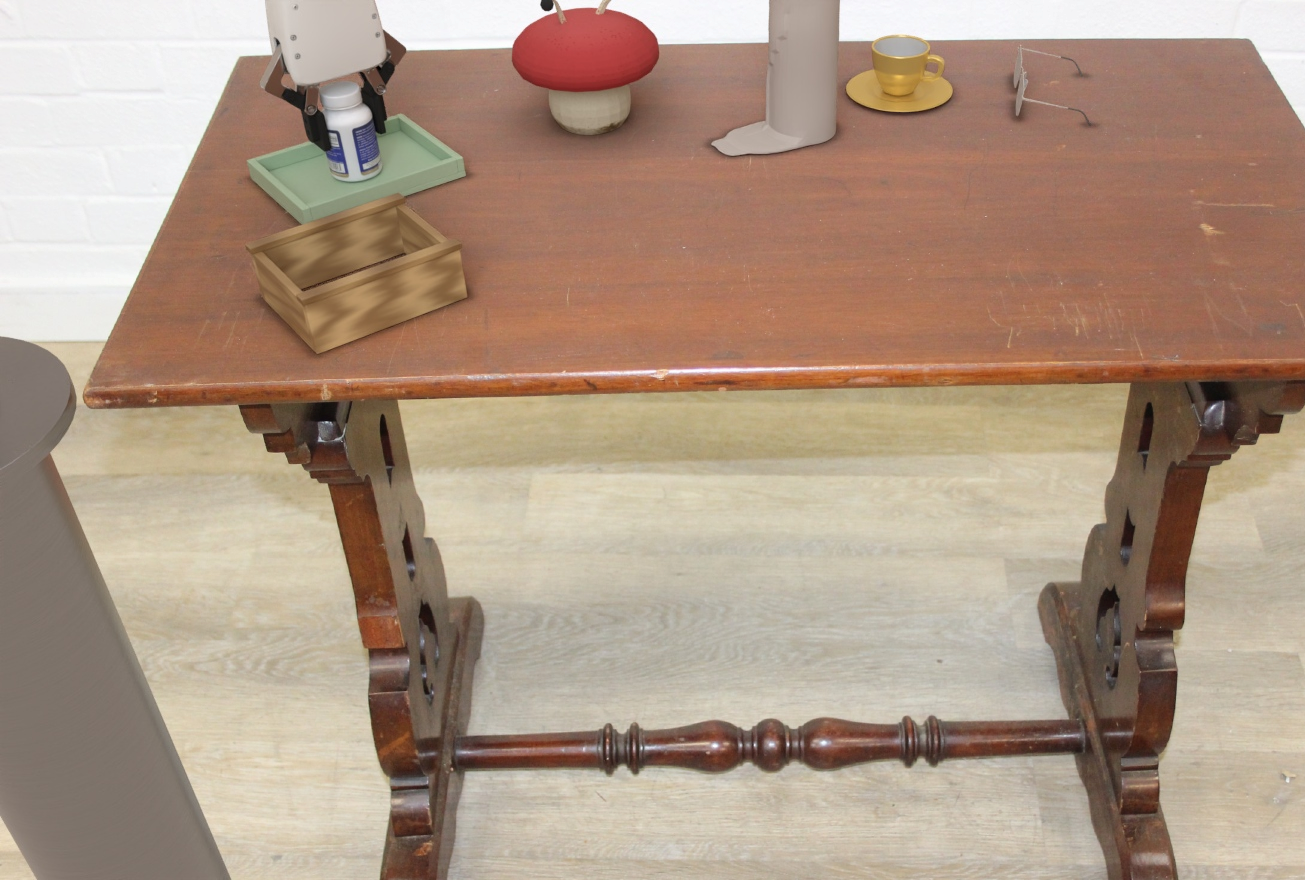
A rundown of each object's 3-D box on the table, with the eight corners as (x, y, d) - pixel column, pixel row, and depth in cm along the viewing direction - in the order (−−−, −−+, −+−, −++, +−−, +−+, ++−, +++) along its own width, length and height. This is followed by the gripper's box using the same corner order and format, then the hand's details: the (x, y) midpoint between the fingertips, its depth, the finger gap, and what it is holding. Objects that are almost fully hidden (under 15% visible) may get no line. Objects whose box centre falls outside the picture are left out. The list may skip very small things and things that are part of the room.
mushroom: (560, 166, 145) (544, 24, 136) (495, 112, 156) (477, -24, 146) (690, 128, 152) (684, -10, 142) (620, 79, 162) (610, -53, 152)
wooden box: (315, 356, 119) (301, 300, 115) (259, 298, 126) (244, 243, 123) (471, 297, 126) (462, 242, 122) (409, 245, 133) (398, 192, 130)
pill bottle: (381, 156, 146) (365, 74, 140) (384, 179, 142) (368, 95, 136) (329, 163, 145) (311, 81, 139) (331, 186, 141) (312, 102, 135)
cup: (833, 107, 156) (835, 60, 152) (861, 65, 164) (863, 20, 161) (939, 121, 153) (943, 73, 149) (962, 77, 161) (966, 31, 158)
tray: (306, 229, 136) (301, 209, 135) (251, 178, 144) (246, 159, 143) (466, 175, 144) (463, 157, 143) (405, 130, 152) (401, 112, 151)
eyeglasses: (1012, 71, 162) (1019, 38, 160) (1081, 79, 162) (1089, 46, 159) (1016, 124, 152) (1023, 89, 149) (1090, 132, 151) (1098, 97, 149)
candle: (702, 137, 150) (695, -54, 137) (816, 111, 155) (820, -75, 142) (731, 164, 145) (727, -31, 132) (847, 137, 150) (855, -54, 137)
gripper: (377, -75, 136) (408, 103, 148) (206, -36, 128) (254, 149, 140) (413, -55, 131) (442, 127, 143) (238, -13, 123) (285, 176, 135)
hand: (349, 136), depth 141 cm, fingers closed on pill bottle, 5 cm apart
